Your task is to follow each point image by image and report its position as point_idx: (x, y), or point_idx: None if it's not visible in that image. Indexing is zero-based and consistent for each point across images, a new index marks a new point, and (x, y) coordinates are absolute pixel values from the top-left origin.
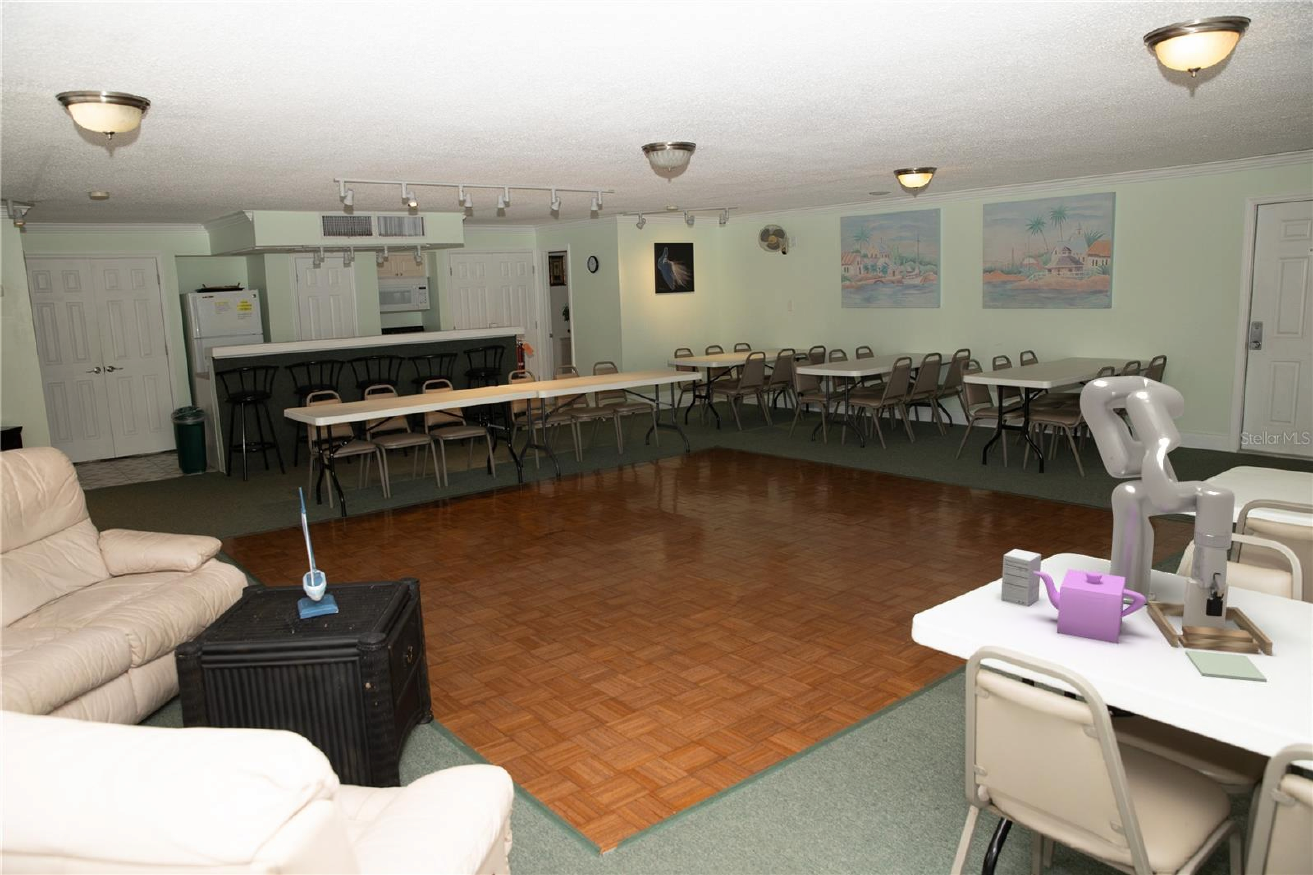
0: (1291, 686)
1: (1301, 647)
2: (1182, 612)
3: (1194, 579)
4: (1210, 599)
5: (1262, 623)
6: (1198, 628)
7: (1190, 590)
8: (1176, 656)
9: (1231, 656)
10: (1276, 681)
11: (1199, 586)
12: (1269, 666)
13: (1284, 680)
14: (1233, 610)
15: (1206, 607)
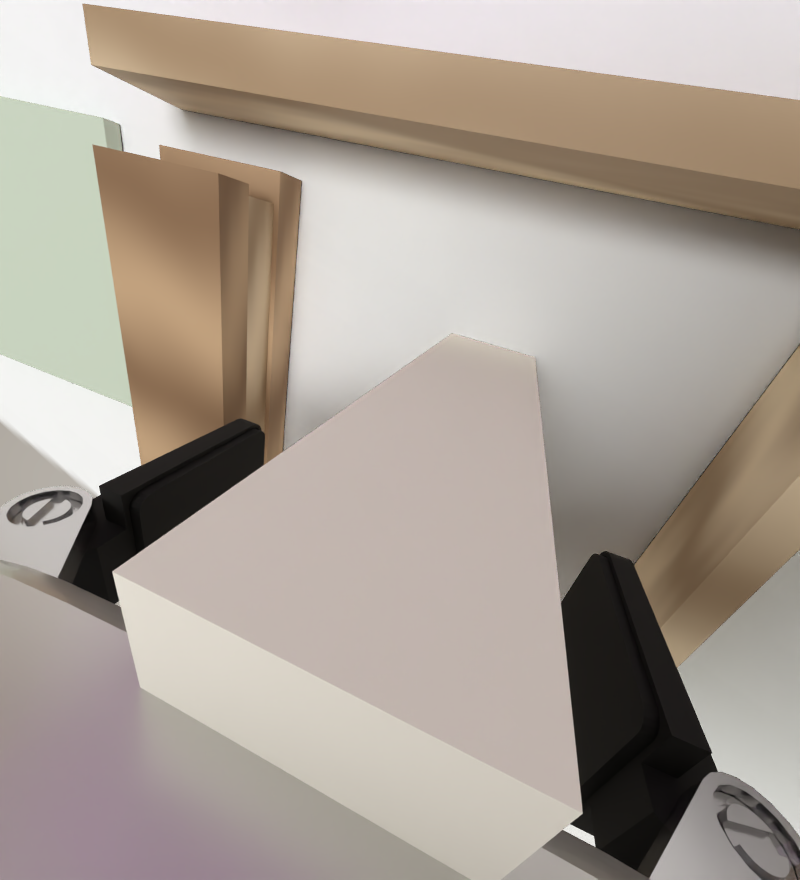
0: (4, 402)
1: None
2: (725, 476)
3: (366, 868)
4: (42, 490)
5: None
6: (188, 284)
7: (288, 462)
8: (57, 28)
9: (115, 344)
10: (15, 381)
11: (21, 588)
12: (116, 441)
13: (34, 411)
14: None
15: (206, 446)
